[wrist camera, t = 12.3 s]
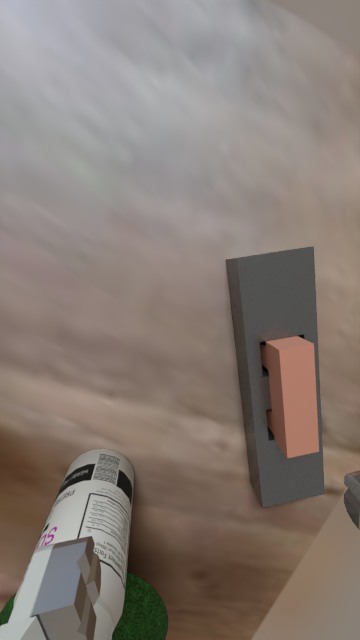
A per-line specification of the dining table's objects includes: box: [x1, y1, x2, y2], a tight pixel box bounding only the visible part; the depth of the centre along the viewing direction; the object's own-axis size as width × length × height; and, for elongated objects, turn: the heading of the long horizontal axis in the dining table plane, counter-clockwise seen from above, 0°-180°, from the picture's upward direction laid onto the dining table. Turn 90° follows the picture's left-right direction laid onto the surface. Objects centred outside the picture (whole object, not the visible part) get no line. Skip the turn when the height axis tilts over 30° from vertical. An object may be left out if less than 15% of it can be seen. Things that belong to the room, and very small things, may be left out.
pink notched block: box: [260, 336, 319, 458], centre depth 30 cm, size 12×4×7 cm, turn 9°
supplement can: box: [14, 449, 134, 640], centre depth 26 cm, size 8×8×15 cm
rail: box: [226, 247, 325, 508], centre depth 31 cm, size 30×8×4 cm, turn 9°
